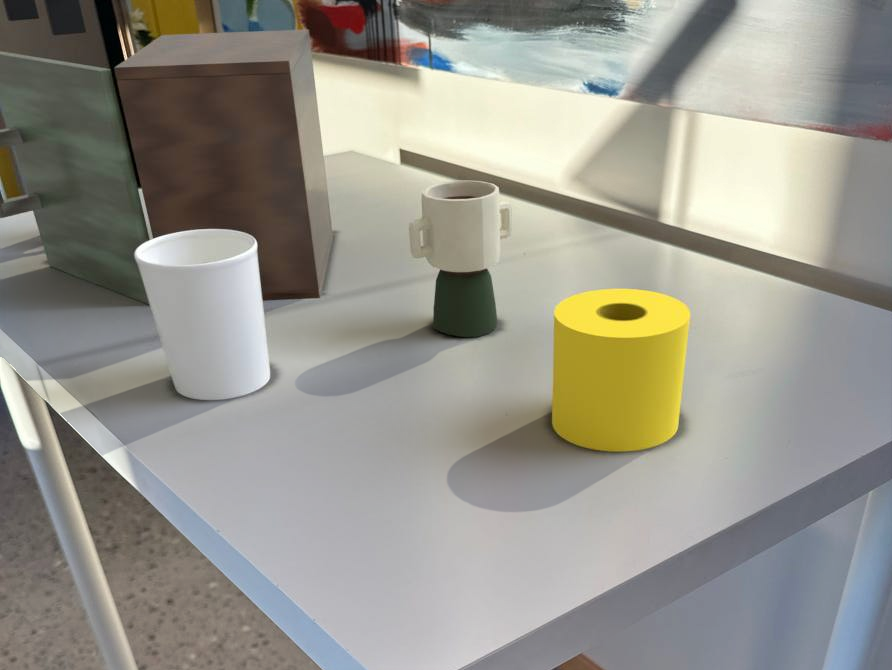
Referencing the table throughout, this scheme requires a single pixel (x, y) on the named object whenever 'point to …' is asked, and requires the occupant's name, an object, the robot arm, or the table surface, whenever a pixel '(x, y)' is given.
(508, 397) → the table surface
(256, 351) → the white cup
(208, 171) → the cupboard
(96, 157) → the cupboard door
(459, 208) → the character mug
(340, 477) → the table surface
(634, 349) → the yellow toilet paper roll
